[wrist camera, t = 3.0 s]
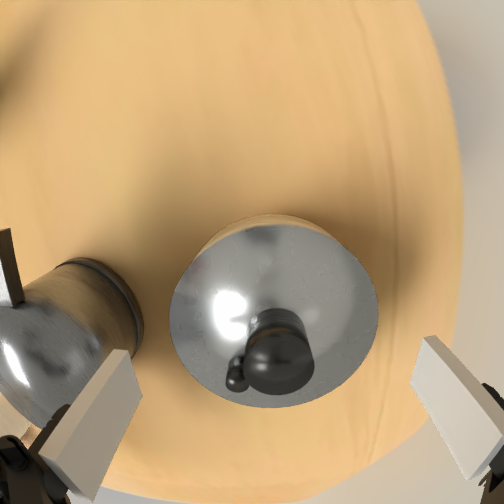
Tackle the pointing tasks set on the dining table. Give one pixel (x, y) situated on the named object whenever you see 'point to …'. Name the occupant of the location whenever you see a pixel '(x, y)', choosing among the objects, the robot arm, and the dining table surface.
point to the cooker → (60, 330)
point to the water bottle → (11, 420)
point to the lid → (273, 312)
